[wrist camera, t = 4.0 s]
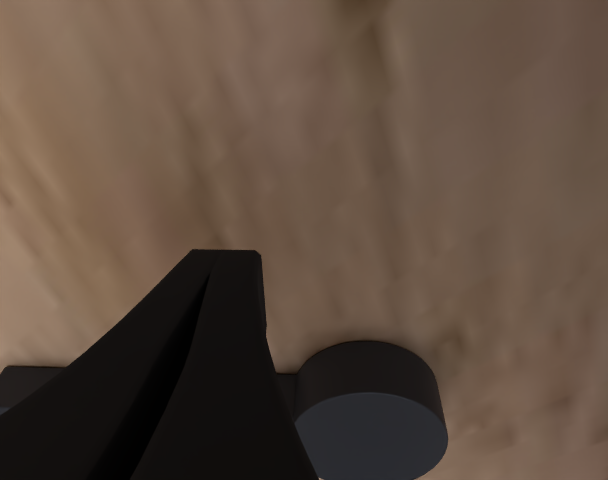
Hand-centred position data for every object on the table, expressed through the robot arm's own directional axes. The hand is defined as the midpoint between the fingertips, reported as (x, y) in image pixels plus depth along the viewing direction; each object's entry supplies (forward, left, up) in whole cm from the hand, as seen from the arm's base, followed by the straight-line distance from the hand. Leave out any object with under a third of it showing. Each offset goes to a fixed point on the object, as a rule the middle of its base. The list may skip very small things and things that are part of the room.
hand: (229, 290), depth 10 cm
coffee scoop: (+1, +7, -4) cm, 8 cm away
